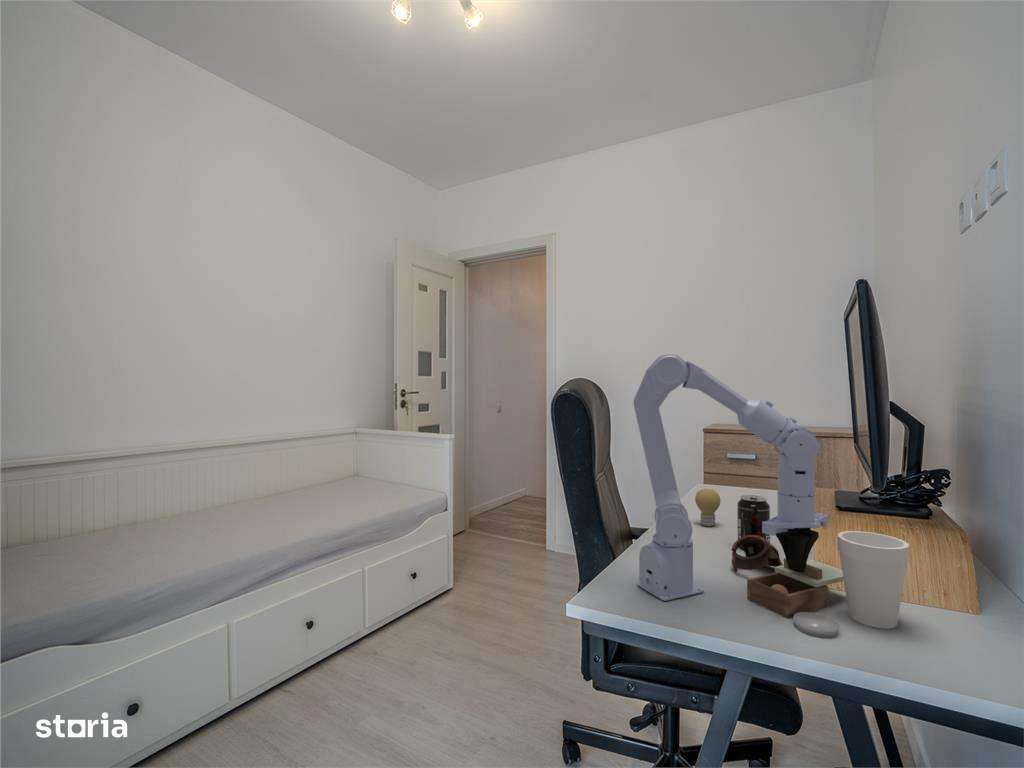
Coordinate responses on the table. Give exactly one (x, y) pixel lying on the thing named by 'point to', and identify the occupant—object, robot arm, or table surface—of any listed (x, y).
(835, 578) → the lid
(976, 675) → the table surface
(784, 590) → the ball
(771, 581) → the box
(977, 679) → the table surface
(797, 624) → the grey piece
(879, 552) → the foam cup
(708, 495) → the light bulb
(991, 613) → the table surface
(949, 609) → the table surface
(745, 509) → the beverage can
